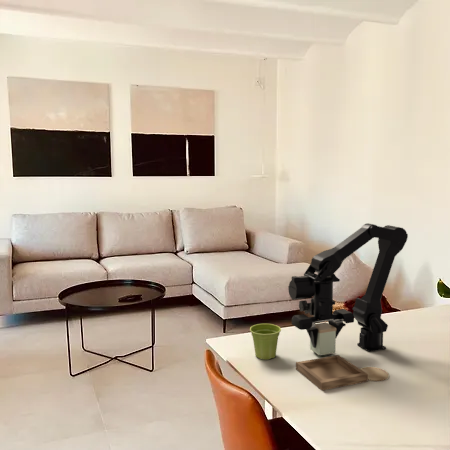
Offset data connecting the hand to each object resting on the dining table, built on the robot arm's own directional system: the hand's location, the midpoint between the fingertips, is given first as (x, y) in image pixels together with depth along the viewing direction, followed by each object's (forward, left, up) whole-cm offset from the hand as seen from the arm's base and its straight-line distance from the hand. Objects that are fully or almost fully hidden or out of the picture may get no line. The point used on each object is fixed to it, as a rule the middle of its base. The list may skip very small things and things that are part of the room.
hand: (322, 346), depth 147 cm
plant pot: (+17, -5, -3) cm, 18 cm away
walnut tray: (+6, +14, -2) cm, 15 cm away
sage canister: (0, 0, -2) cm, 2 cm away
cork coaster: (-5, +18, -2) cm, 19 cm away
